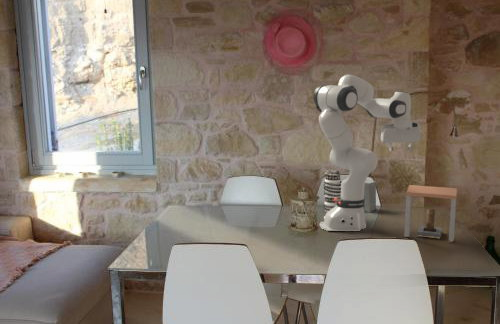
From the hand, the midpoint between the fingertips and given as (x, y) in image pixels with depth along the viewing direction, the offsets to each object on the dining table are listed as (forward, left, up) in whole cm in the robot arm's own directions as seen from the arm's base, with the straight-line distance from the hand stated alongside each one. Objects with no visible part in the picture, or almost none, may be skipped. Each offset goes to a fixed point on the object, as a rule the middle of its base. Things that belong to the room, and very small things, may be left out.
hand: (400, 150), depth 274 cm
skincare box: (-12, +12, -34) cm, 38 cm away
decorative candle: (-35, +1, -34) cm, 49 cm away
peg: (+1, -34, -34) cm, 48 cm away
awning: (+1, -34, -34) cm, 48 cm away
